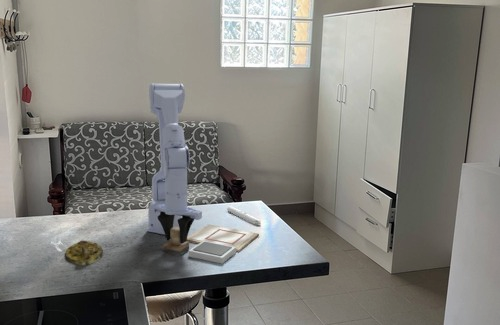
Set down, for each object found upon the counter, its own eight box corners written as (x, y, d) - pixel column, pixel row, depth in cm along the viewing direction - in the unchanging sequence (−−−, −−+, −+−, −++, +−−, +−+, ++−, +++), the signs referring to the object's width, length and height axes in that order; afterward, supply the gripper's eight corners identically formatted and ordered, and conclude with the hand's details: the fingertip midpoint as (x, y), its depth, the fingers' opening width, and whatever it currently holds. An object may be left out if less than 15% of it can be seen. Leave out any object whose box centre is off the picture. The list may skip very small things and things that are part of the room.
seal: (63, 251, 134) (70, 272, 121) (60, 235, 133) (66, 254, 119) (98, 242, 138) (108, 262, 124) (95, 227, 136) (105, 245, 123)
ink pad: (188, 256, 129) (188, 249, 129) (203, 246, 137) (203, 240, 136) (222, 263, 125) (222, 256, 125) (235, 252, 133) (235, 246, 132)
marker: (263, 226, 155) (263, 219, 154) (257, 227, 154) (258, 220, 153) (232, 211, 169) (232, 204, 169) (226, 212, 168) (227, 205, 167)
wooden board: (185, 240, 140) (185, 238, 140) (208, 226, 152) (208, 223, 152) (238, 251, 133) (239, 249, 133) (258, 235, 146) (258, 233, 146)
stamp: (163, 252, 132) (163, 230, 131) (173, 246, 136) (173, 224, 135) (179, 255, 130) (179, 233, 129) (189, 249, 134) (189, 227, 133)
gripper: (144, 192, 129) (145, 240, 132) (192, 199, 123) (192, 250, 126) (159, 186, 135) (160, 232, 138) (205, 193, 130) (205, 241, 132)
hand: (176, 240), depth 132 cm, fingers open, 4 cm apart
